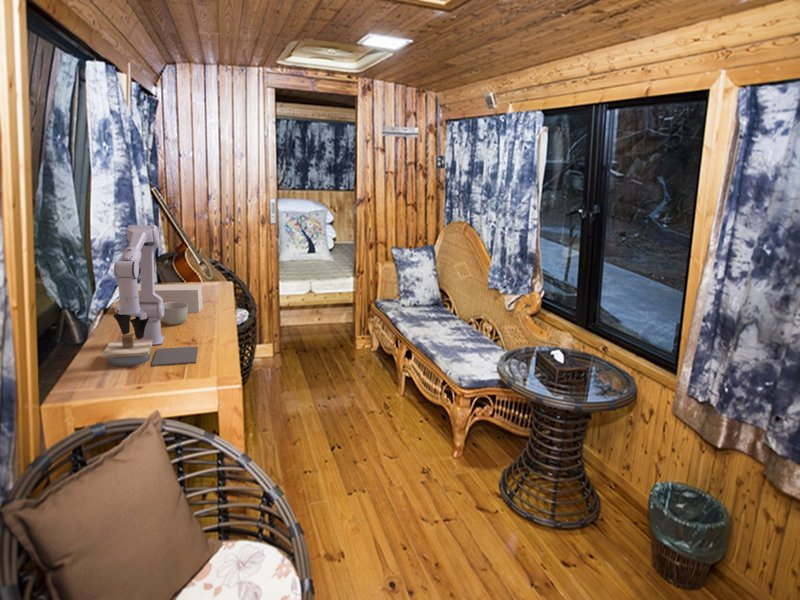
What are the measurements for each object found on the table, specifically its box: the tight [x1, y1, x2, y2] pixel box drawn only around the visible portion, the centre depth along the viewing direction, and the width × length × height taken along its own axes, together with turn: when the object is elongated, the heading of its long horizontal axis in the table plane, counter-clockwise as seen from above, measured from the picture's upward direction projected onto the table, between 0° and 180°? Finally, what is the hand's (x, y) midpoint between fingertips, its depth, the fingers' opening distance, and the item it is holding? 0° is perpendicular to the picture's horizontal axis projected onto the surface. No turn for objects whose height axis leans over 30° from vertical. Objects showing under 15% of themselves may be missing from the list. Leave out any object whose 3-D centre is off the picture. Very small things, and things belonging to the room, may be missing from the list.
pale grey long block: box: [138, 283, 204, 314], centre depth 256 cm, size 32×11×11 cm, turn 100°
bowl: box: [107, 350, 151, 368], centre depth 197 cm, size 13×13×4 cm
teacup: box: [160, 302, 189, 326], centre depth 237 cm, size 14×11×8 cm
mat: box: [151, 346, 199, 367], centre depth 201 cm, size 16×14×1 cm
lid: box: [101, 333, 153, 359], centre depth 196 cm, size 14×14×5 cm
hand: (132, 335), depth 191 cm, fingers open, 7 cm apart
